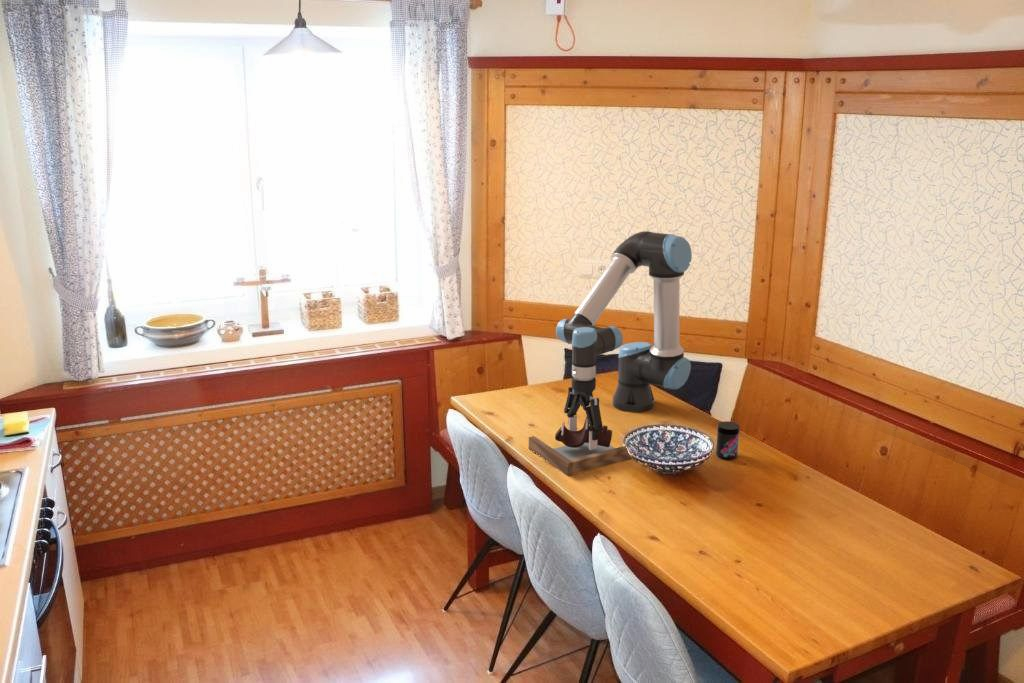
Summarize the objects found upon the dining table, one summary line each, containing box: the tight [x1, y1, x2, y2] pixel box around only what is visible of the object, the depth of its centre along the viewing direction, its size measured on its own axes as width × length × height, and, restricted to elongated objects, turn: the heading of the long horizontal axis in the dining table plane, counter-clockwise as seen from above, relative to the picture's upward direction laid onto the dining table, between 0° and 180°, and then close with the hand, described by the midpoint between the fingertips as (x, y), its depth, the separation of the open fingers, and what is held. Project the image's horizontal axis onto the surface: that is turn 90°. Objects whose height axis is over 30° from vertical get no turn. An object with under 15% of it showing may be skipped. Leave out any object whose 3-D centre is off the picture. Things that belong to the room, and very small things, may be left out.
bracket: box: [554, 416, 613, 448], centre depth 273 cm, size 6×17×10 cm
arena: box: [528, 435, 633, 477], centre depth 273 cm, size 24×23×4 cm
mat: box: [553, 443, 616, 460], centre depth 276 cm, size 20×11×1 cm, turn 119°
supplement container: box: [715, 420, 741, 461], centre depth 270 cm, size 7×7×10 cm
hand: (582, 442), depth 275 cm, fingers closed on bracket, 11 cm apart
